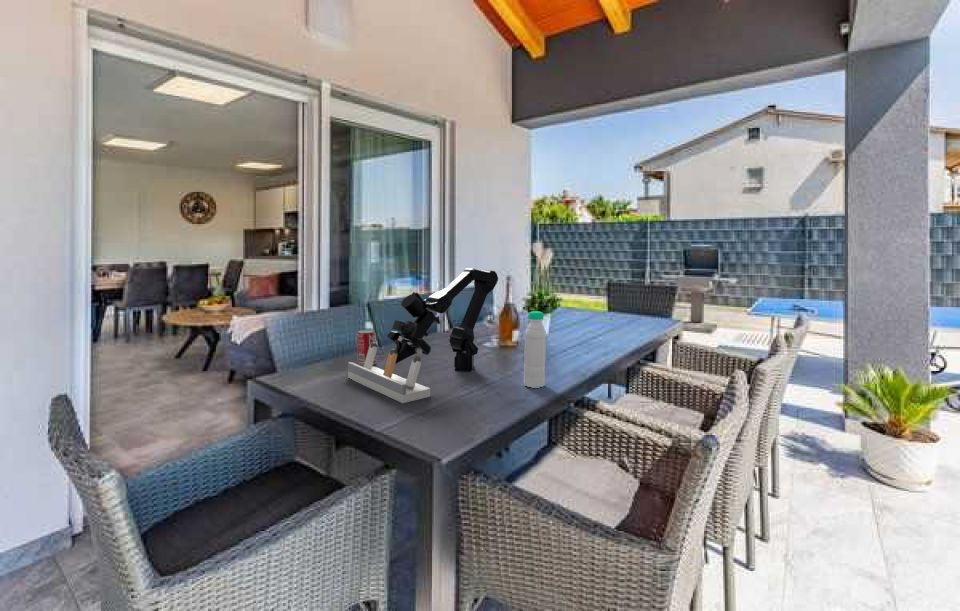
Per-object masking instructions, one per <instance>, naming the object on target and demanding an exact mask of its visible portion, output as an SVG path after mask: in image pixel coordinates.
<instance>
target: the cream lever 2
mask: <svg viewBox="0 0 960 611" xmlns="http://www.w3.org/2000/svg"><path fill="white" fill-rule="evenodd" d="M421 365H422V359H421V357H420V356H414V357H413V359H412V360H411V364H410V366H409V371H408V374H407V377H406V379H407V380H406V383H405V384H406V387H407V388H409V389H412V390H413V389H414V386H415V383H417V379H418V375H419V373H420V368H421Z"/></svg>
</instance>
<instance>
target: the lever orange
mask: <svg viewBox="0 0 960 611" xmlns="http://www.w3.org/2000/svg"><path fill="white" fill-rule="evenodd" d="M397 355H398V354H397V350H396V348H391V349H390V351H389V352H388V355H387V358H386V363H385V367H384V369H383V370H384V373H383V375H384V376H387V377H389V378H391V377H392V374H394V369H395V366H396V364H395V362H396V358H397Z"/></svg>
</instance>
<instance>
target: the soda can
mask: <svg viewBox="0 0 960 611" xmlns="http://www.w3.org/2000/svg"><path fill="white" fill-rule="evenodd" d="M373 342H375V343H377V335H376V333H375V330H373V329H360V330H358V331H357V334H356V354H357V365H360V366H362V367H363V366H364V363H365V360H366V356H367V353H368V350H369V346H370V345H371V343H373ZM376 363H377V354H376V355H375V358H374V361H373V365H372V366H375V365H376Z"/></svg>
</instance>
